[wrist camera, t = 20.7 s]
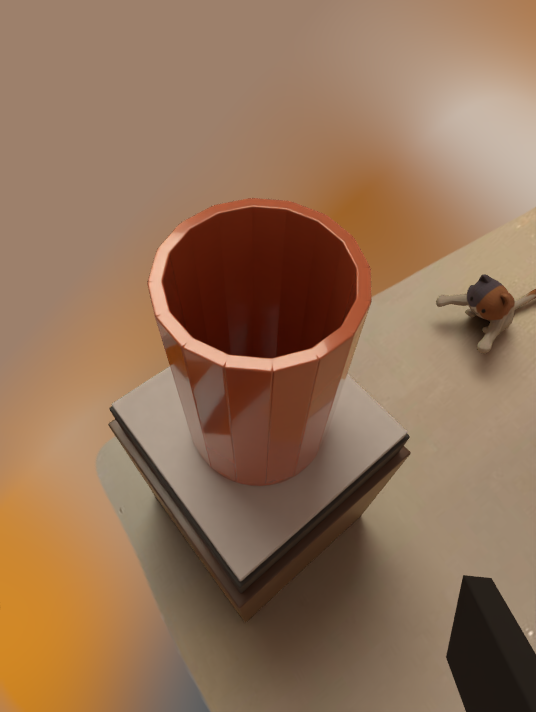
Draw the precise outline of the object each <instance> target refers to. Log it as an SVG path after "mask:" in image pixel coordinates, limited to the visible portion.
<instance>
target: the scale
mask: <svg viewBox="0 0 536 712" xmlns="http://www.w3.org/2000/svg"><path fill="white" fill-rule="evenodd" d="M110 411H111V412H112V414H113V416H114V417H115V419H116V421H117V422H118V424H119V425H120V427H121V428H122V430H123V431H124V432H125V434H126V435H127V437H128V438H129V439H130V441H131V442H132V443H133V445H134V446H135V448H136V449H137V450H138V452H139V453H140V455H141V456H142V457H143V459H144V460H145V461H146V463H147V464H148V466H149V467H150V468H151V470H152V471H153V473H154V474H155V475H156V477H157V478H158V480H159V481H160V482H161V484H162V485H163V486H164V488H165V489H166V491H167V492H168V493H169V495H170V496H171V498H172V499H173V500H174V502H175V503H176V504H177V506H178V507H179V509H180V510H181V511H182V513H183V514H184V516H185V517H186V518H187V520H188V521H189V522H190V524H191V525H192V527H193V528H194V529H195V531H196V532H197V534H198V535H199V536H200V538H201V539H202V540H203V542H204V543H205V545H206V546H207V547H208V549H209V550H210V552H211V553H212V554H213V556H214V557H215V558H216V560H217V561H218V563H219V564H220V565H221V567H222V568H223V570H224V571H225V572H226V574H227V575H228V576H229V578H230V579H231V581H232V582H233V583H234V585H235V586H236V588H237V589H238V590H239V592H240V593H242V592H243V591H245V590H246V589H247V588H248V587H249V586H250V585H251V584H252V583H253V582H255V581H256V580H257V579H258V578H259V577H260V576H261V575H262V574H264V573H265V572H266V571H267V570H268V569H269V568H270V567H271V566H272V565H274V564H275V563H276V562H277V561H278V560H279V559H280V558H281V557H282V556H284V555H285V554H286V553H287V552H288V551H289V550H290V549H291V548H292V547H294V546H295V545H296V544H297V543H298V542H299V541H300V540H301V539H303V538H304V537H305V536H306V535H307V534H308V533H309V532H310V531H311V530H313V529H314V528H315V527H316V526H317V525H318V524H319V523H320V522H321V521H323V520H324V519H325V518H326V517H327V516H328V515H329V514H330V513H331V512H333V511H334V510H335V509H336V508H337V507H338V506H339V505H340V504H342V503H343V502H344V501H345V500H346V499H347V498H348V497H349V496H350V495H352V494H353V493H354V492H355V491H356V490H357V489H358V488H359V487H360V486H362V485H363V484H364V483H365V482H366V481H367V480H368V479H369V478H370V477H372V476H373V475H374V474H375V473H376V472H377V471H378V470H379V469H381V468H382V467H383V466H384V465H385V464H386V463H387V462H388V461H389V460H391V459H392V458H393V457H394V456H395V455H396V454H397V453H398V452H399V451H400V450H401V449H402V447H403V446H404V444H405V443H406V442H407V440H408V439H409V437H410V436H409V435H408V434H407V431H406V430H405V429H404V428H403V427H402V426H401V425H400V424H399V423H398V422H397V421H396V420H395V419H394V418H393V417H392V416H391V415H390V414H389V413H388V412H387V411H386V410H385V409H384V408H383V407H382V406H381V405H380V404H379V403H377V402H376V401H375V400H374V399H373V398H372V397H371V396H370V395H369V394H368V393H367V392H366V391H365V390H364V389H363V388H362V387H361V386H360V385H359V384H358V383H357V382H356V381H355V380H354V379H353V378H352V377H351V376H350V375H349V374H348V373H347V376H346V379H345V382H344V385H343V388H342V391H341V394H340V397H339V400H338V403H337V406H336V409H335V412H334V415H333V418H332V421H331V424H330V427H329V430H328V433H327V435H326V437H325V440H324V442H323V444H322V446H321V449H320V451H319V452H318V454H317V456H316V457H315V459H314V460H313V461H312V462H311V464H310V465H309V466H308V467H306V468H305V469H304V470H303V471H302V472H300V473H299V474H298V475H296V476H294V477H292V478H291V479H289V480H286V481H283V482H281V483H277V484H273V485H266V486H250V485H244V484H240V483H236V482H233V481H231V480H229V479H226V478H224V477H223V476H221V475H220V474H218V473H216V472H215V471H214V470H213V469H212V468H210V467H209V466H208V465H207V463H206V462H205V461H204V460H203V459H202V457H201V456H200V454H199V453H198V451H197V449H196V447H195V446H194V443H193V440H192V437H191V434H190V430H189V427H188V424H187V420H186V417H185V414H184V411H183V407H182V404H181V401H180V397H179V394H178V391H177V387H176V384H175V381H174V378H173V374H172V371H171V368H170V366H169V367H167V368H166V369H164V370H163V371H161V372H160V373H158V374H157V375H155V376H154V377H152V378H151V379H149V380H147V381H146V382H144V383H143V384H141V385H140V386H138V387H137V388H135V389H134V390H132V391H131V392H129V393H127V394H126V395H124V396H123V397H121V398H120V399H119V400H117V401H115V402H114V403H112V407H111V408H110Z"/></svg>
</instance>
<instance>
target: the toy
mask: <svg viewBox="0 0 536 712" xmlns="http://www.w3.org/2000/svg"><path fill="white" fill-rule="evenodd" d="M534 298H536V289H534V290H533V291H531V292H529V293H528V294H526V295H524V296H523V297H521V298H519V299H517V300H516V301H514V298H513V297H512V295H511V294H510V293H508V291H507V289H506V288H505V287H504V286H503V285H502V284H501V283H499V282H498V281H496V280H494V279H492V278H491V277H489V276H488V275H481V277H480V279H479V281H478V282H477V283H476V284H475V285H471V286H470V287H469V289H468V292H467V294H460V295H451V296H449V295H440V296H439V297H438V298H437V300H436V305H437V306H438V307H442V306H445V305H448V304H454V305H462V306H466V305H469V307H470V309H467V310H466V311H465V313H466V314H467V315H468V316H470V317H474V316H476V315H478V316H479V317H481V318H483V319H486V320H489V321H490V325H489V327H488V326H487V327H484V328H483V329H482V330H483V332H484V333H485V336H484V337H483V339H482V340H481V341H480V342H479V343H478V345H477V350H478V351H479V352H481V353H487V352H489V351H490V350H491V347H492V343H493V341H494V339H495V338H496V337H497V336H498V334H499V333H501V332H502V331H503V330H504V329H506V328H507V327H509V325H510V324H511V323H512V320H513V317H514V310H515V309H517V308H518V307H520V306H522V305H524V304H526V303H527V302H529V301H531V300H533V299H534Z"/></svg>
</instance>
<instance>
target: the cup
mask: <svg viewBox="0 0 536 712" xmlns="http://www.w3.org/2000/svg"><path fill="white" fill-rule="evenodd" d="M148 288H149V293H150V297H151V302H152V306H153V310H154V314H155V318H156V321H157V324H158V328H159V331H160V334H161V338H162V341H163V345H164V348H165V351H166V354H167V358H168V361H169V364H170V368H171V371H172V374H173V378H174V381H175V384H176V387H177V391H178V394H179V397H180V401H181V404H182V407H183V411H184V414H185V417H186V420H187V424H188V427H189V430H190V434H191V437H192V440H193V443H194V446H195V447H196V449H197V451H198V453H199V454H200V456H201V457H202V459H203V460H204V461H205V462H206V463H207V465H208V466H209V467H210V468H212V469H213V470H214V471H215V472H216V473H218V474H220V475H221V476H223V477H224V478H226V479H229V480H231V481H233V482H236V483H240V484H244V485H250V486H266V485H273V484H277V483H281V482H283V481H286V480H289V479H291V478H292V477H294V476H296V475H298V474H299V473H300V472H302V471H303V470H304V469H305V468H306V467H308V466H309V465H310V464H311V462H312V461H313V460H314V459H315V457H316V456H317V454H318V452H319V451H320V449H321V446H322V444H323V442H324V440H325V437H326V435H327V433H328V430H329V427H330V424H331V421H332V418H333V415H334V412H335V409H336V406H337V403H338V400H339V397H340V394H341V391H342V388H343V385H344V382H345V379H346V376H347V373H348V370H349V367H350V364H351V361H352V358H353V355H354V352H355V349H356V346H357V343H358V340H359V337H360V334H361V331H362V328H363V325H364V322H365V319H366V316H367V313H368V310H369V307H370V304H371V269H370V266H369V264H368V262H367V261H366V259H365V257H364V255H363V253H362V251H361V249H360V248H359V246H358V244H357V242H356V240H355V239H354V238H353V236H352V235H350V234H349V233H348V232H347V231H346V230H344V229H343V228H342V227H341V226H339V225H338V224H337V223H336V222H334V221H333V220H332V219H331V218H329V217H328V216H327V215H325V214H323V213H320V212H318V211H315V210H312V209H309V208H307V207H304V206H302V205H299V204H296V203H294V202H289V201H283V200H270V199H258V198H252V199H251V198H248V199H243V200H238V201H233V202H228V203H223V204H217V205H214V206H211V207H209V208H207V209H205V210H204V211H202V212H200V213H198V214H196V215H194V216H192V217H190V218H188V219H187V220H185V221H183V222H181V223H180V224H179V225H178V226H177V227H176V228H175V229H174V230H173V232H172V233H171V234H170V235H169V236H168V237H167V238H166V239H165V241H164V242H163V243H162V244H161V245H160V246H159V247H158V249H157V251H156V254H155V257H154V261H153V264H152V268H151V272H150V275H149V279H148Z"/></svg>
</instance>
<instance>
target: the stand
mask: <svg viewBox="0 0 536 712" xmlns="http://www.w3.org/2000/svg"><path fill="white" fill-rule="evenodd" d="M109 426H110V428H111V430H112V431H113V433H114V434H115V436H116V437H117V439H118V440H119V442H120V443H121V445H122V446H123V448H124V449H125V451H126V452H127V454H128V456H129V457H130V459H131V460H132V462H133V463H134V465H135V466H136V468H137V469H138V471H139V472H140V474H141V475H142V477H143V478H144V480H145V481H146V483H147V484H148V486H149V487H150V489H151V490H152V492H153V493H154V495H155V496H156V498H157V499H158V501H159V502H160V503H161V505H162V506H163V508H164V509H165V511H166V512H167V513H168V515H169V516H170V518H171V519H172V520H173V522H174V523H175V525H176V526H177V528H178V529H179V530H180V532H181V533H182V535H183V536H184V537H185V539H186V540H187V542H188V543H189V544H190V546H191V547H192V549H193V550H194V552H195V553H196V554H197V556H198V557H199V559H200V560H201V561H202V563H203V564H204V566H205V567H206V569H207V570H208V571H209V573H210V574H211V576H212V577H213V578H214V580H215V581H216V583H217V584H218V586H219V587H220V588H221V590H222V591H223V593H224V594H225V595H226V597H227V598H228V600H229V601H230V603H231V604H232V605H233V607H234V608H235V610H236V611H237V612H238V614H239V615H240V617H241V618H242V620H243V621H244V622H245V623H246V622H247V621H248V620H249V619H250V618H251V617H252V616H253V615H255V614H256V613H257V612H258V611H259V610H260V609H261V608H262V607H263V606H264V605H265V604H266V603H267V602H269V601H270V600H271V599H272V598H273V597H274V596H275V595H276V594H277V593H278V592H279V591H280V590H281V589H283V588H284V587H285V586H286V585H287V584H288V583H289V582H290V581H291V580H292V579H293V578H294V577H295V576H297V575H298V574H299V573H300V572H301V571H302V570H303V569H304V568H305V567H306V566H307V565H308V564H310V563H311V562H312V561H313V560H314V559H315V558H316V557H317V556H318V555H319V554H320V553H321V552H322V551H324V550H325V549H326V548H327V547H328V546H329V545H330V544H331V543H332V542H333V541H334V540H335V539H336V538H338V537H339V536H340V535H341V534H342V533H343V532H344V531H345V530H346V529H347V528H348V527H349V526H350V525H352V524H353V523H354V522H355V521H356V520H357V519H358V518H359V517H360V516H361V515H362V514H363V513H364V511H365V510H366V509H367V508H368V506H369V505H370V504H371V502H372V501H373V500H374V499H375V497H376V496H377V495H378V494H379V492H380V491H381V490H382V489H383V487H384V486H385V485H386V484H387V482H388V481H389V480H390V479H391V477H392V476H393V475H394V474H395V472H396V471H397V470H398V469H399V467H400V466H401V465H402V464H403V462H404V461H405V460H406V459H407V457H408V456H409V455H410V451H409V450H408V449H406V448H405V447H404V446H403V447H402V449H401V450H400V451H399V452H398V453H397V454H396V455H395V456H394V457H393V458H392V459H391V460H389V461H388V462H387V463H386V464H385V465H384V466H383V467H382V468H381V469H379V470H378V471H377V472H376V473H375V474H374V475H373V476H372V477H370V478H369V479H368V480H367V481H366V482H365V483H364V484H363V485H362V486H360V487H359V488H358V489H357V490H356V491H355V492H354V493H353V494H352V495H350V496H349V497H348V498H347V499H346V500H345V501H344V502H343V503H342V504H340V505H339V506H338V507H337V508H336V509H335V510H334V511H333V512H331V513H330V514H329V515H328V516H327V517H326V518H325V519H324V520H323V521H321V522H320V523H319V524H318V525H317V526H316V527H315V528H314V529H313V530H311V531H310V532H309V533H308V534H307V535H306V536H305V537H304V538H303V539H301V540H300V541H299V542H298V543H297V544H296V545H295V546H294V547H292V548H291V549H290V550H289V551H288V552H287V553H286V554H285V555H284V556H282V557H281V558H280V559H279V560H278V561H277V562H276V563H275V564H274V565H272V566H271V567H270V568H269V569H268V570H267V571H266V572H265V573H264V574H262V575H261V576H260V577H259V578H258V579H257V580H256V581H255V582H253V583H252V584H251V585H250V586H249V587H248V588H247V589H246V590H245V591H243V592H242V593H240V592H239V590H238V589H237V588H236V586H235V585H234V583H233V582H232V581H231V579H230V578H229V576H228V575H227V574H226V572H225V571H224V570H223V568H222V567H221V565H220V564H219V563H218V561H217V560H216V558H215V557H214V556H213V554H212V553H211V552H210V550H209V549H208V547H207V546H206V545H205V543H204V542H203V540H202V539H201V538H200V536H199V535H198V534H197V532H196V531H195V529H194V528H193V527H192V525H191V524H190V522H189V521H188V520H187V518H186V517H185V516H184V514H183V513H182V511H181V510H180V509H179V507H178V506H177V504H176V503H175V502H174V500H173V499H172V498H171V496H170V495H169V493H168V492H167V491H166V489H165V488H164V486H163V485H162V484H161V482H160V481H159V480H158V478H157V477H156V475H155V474H154V473H153V471H152V470H151V468H150V467H149V466H148V464H147V463H146V461H145V460H144V459H143V457H142V456H141V455H140V453H139V452H138V450H137V449H136V448H135V446H134V445H133V443H132V442H131V441H130V439H129V438H128V437H127V435H126V434H125V432H124V431H123V430H122V428H121V427H120V425H119V424H118V422H117V421H116V419H115V420H113V421H112V422H110V423H109Z"/></svg>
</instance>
